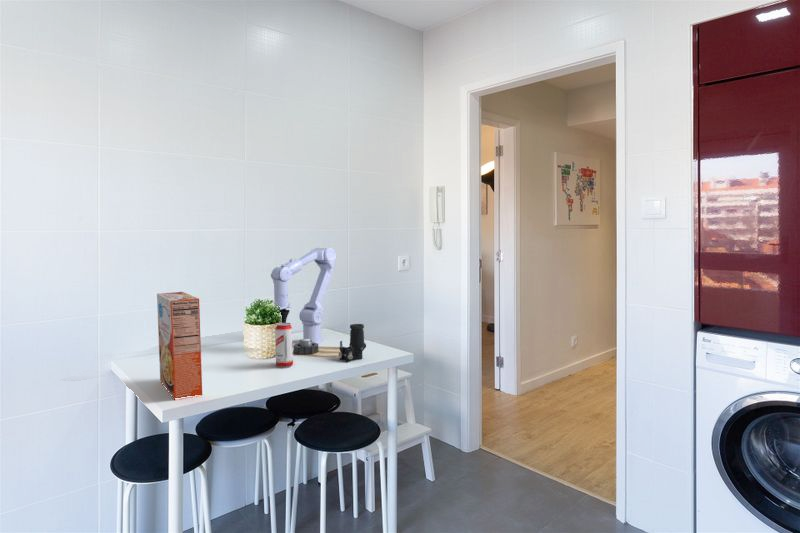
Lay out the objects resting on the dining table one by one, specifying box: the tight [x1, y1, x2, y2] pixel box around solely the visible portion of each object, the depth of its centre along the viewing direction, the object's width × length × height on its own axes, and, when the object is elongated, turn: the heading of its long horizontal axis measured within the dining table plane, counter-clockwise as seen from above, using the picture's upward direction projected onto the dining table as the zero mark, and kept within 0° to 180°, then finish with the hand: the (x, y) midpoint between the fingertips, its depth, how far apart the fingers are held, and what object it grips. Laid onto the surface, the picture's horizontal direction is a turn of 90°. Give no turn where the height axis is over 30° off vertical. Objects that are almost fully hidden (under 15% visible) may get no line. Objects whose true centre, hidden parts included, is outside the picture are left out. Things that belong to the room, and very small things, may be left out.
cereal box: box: [156, 291, 203, 399], centre depth 161 cm, size 23×8×30 cm, turn 35°
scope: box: [339, 323, 367, 363], centre depth 195 cm, size 8×14×10 cm
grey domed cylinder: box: [299, 339, 312, 347], centre depth 207 cm, size 5×5×5 cm
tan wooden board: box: [293, 345, 341, 359], centre depth 208 cm, size 18×24×1 cm
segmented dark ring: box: [293, 342, 319, 355], centre depth 207 cm, size 10×10×3 cm
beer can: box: [274, 322, 294, 369], centre depth 188 cm, size 6×6×16 cm
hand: (281, 327), depth 213 cm, fingers closed
